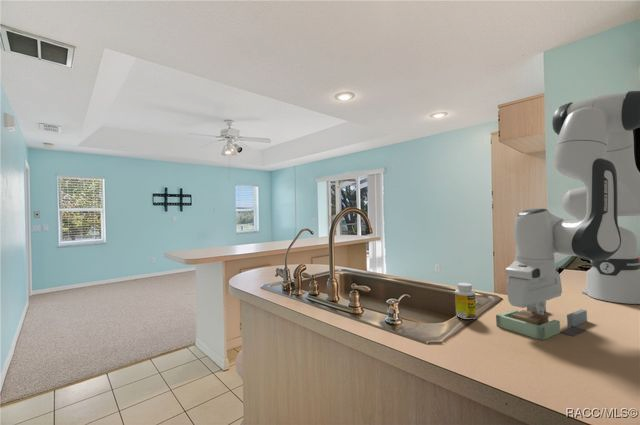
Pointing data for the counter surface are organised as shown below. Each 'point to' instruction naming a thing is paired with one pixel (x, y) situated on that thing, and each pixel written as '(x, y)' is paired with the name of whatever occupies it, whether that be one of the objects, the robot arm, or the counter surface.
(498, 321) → the trap channel
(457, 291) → the supplement bottle
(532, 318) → the walnut block
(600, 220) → the robot arm
